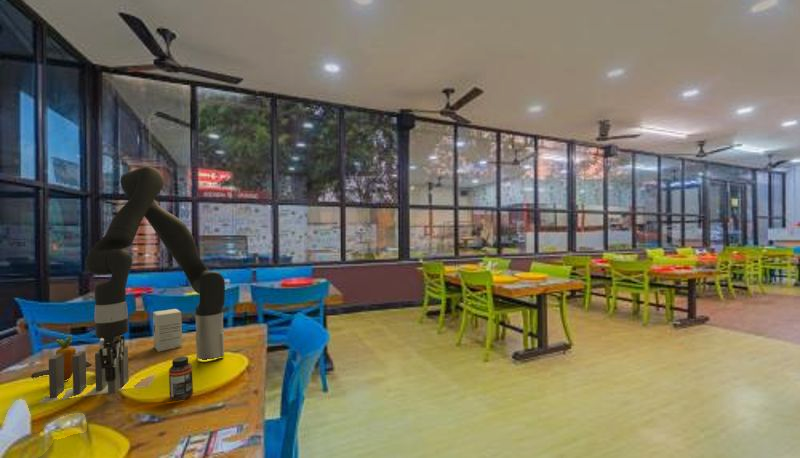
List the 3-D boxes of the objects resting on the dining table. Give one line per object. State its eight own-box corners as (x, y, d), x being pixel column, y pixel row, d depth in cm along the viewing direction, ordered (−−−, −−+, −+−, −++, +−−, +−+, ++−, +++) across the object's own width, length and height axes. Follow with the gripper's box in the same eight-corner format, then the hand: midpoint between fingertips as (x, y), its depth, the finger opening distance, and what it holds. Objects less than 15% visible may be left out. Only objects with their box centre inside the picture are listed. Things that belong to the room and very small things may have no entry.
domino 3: (120, 386, 110) (118, 347, 110) (115, 393, 106) (113, 353, 106) (113, 387, 110) (112, 348, 110) (108, 394, 105) (106, 354, 105)
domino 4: (128, 381, 121) (127, 345, 121) (123, 387, 117) (123, 350, 117) (122, 382, 121) (121, 346, 121) (117, 388, 116) (116, 351, 116)
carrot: (53, 386, 119) (52, 339, 119) (59, 380, 124) (58, 335, 124) (73, 383, 122) (72, 337, 122) (78, 377, 126) (77, 333, 126)
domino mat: (156, 375, 126) (156, 374, 126) (149, 387, 117) (149, 385, 117) (54, 390, 116) (54, 389, 116) (37, 404, 107) (37, 403, 107)
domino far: (64, 390, 115) (63, 353, 115) (56, 397, 110) (55, 358, 110) (57, 391, 114) (56, 354, 114) (49, 398, 110) (48, 359, 110)
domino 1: (86, 387, 117) (85, 350, 117) (79, 393, 112) (78, 355, 112) (80, 388, 116) (79, 351, 116) (73, 394, 112) (72, 356, 112)
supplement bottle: (176, 392, 113) (175, 355, 113) (196, 391, 113) (195, 354, 113) (165, 402, 107) (164, 362, 107) (187, 400, 107) (186, 361, 107)
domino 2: (107, 384, 119) (107, 348, 119) (102, 390, 115) (101, 353, 114) (101, 385, 119) (100, 348, 118) (95, 391, 114) (94, 353, 114)
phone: (92, 364, 137) (36, 378, 125) (92, 366, 137) (36, 380, 125) (85, 360, 142) (31, 373, 129) (85, 363, 142) (31, 376, 129)
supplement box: (153, 347, 158) (152, 311, 158) (177, 342, 164) (176, 308, 164) (157, 352, 151) (156, 315, 151) (182, 346, 157) (181, 311, 157)
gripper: (119, 322, 102) (122, 384, 103) (133, 311, 116) (136, 366, 116) (85, 326, 99) (88, 389, 100) (104, 314, 113) (106, 370, 113)
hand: (113, 376), depth 108 cm, fingers closed on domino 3, 5 cm apart
